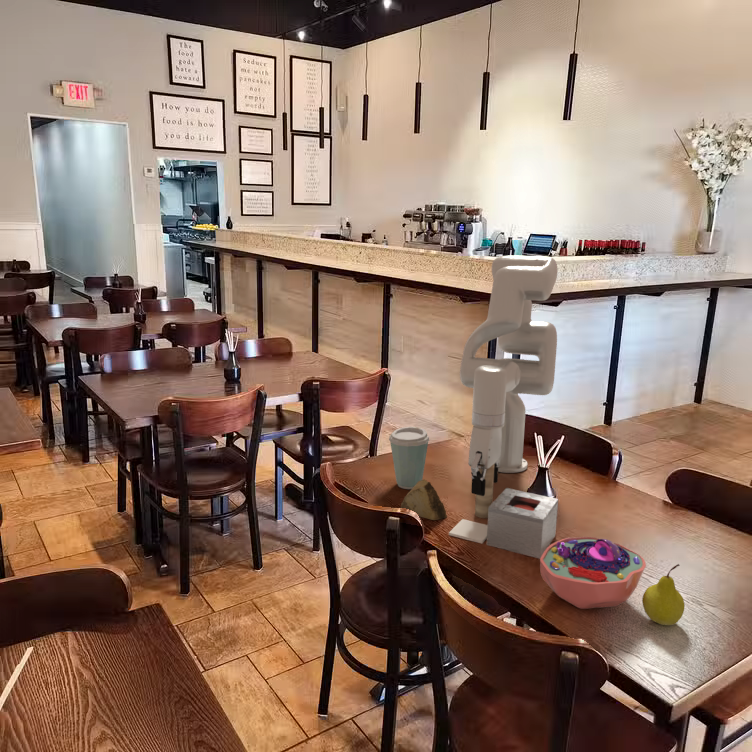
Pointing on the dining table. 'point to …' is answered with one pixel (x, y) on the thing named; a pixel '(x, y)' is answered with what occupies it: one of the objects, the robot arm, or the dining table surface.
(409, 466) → the disposable coffee cup
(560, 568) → the cell model
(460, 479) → the dining table surface
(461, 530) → the mat
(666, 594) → the fruit
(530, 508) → the plunger
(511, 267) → the robot arm
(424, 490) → the rock
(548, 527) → the grey square box
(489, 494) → the beige segmented cylinder
